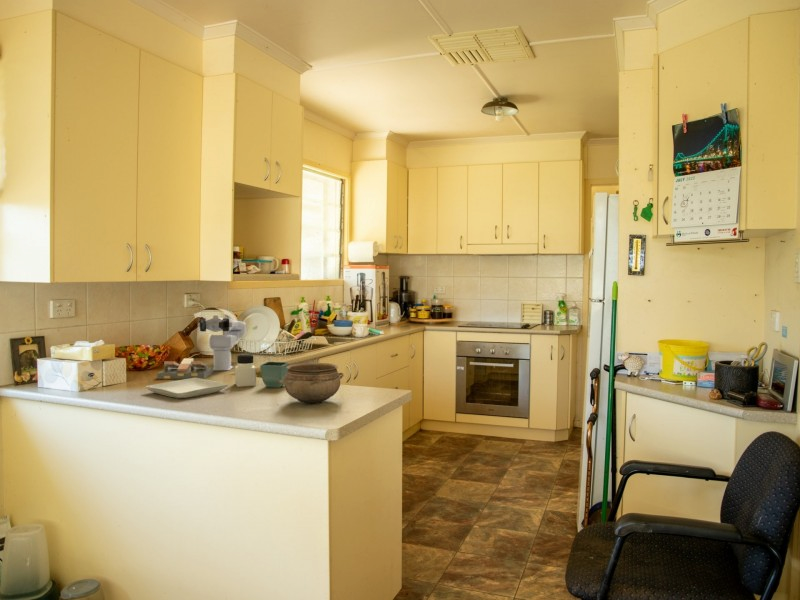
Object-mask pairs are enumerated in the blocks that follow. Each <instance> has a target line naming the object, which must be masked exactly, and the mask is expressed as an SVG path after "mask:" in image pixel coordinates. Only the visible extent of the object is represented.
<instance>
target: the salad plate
mask: <svg viewBox="0 0 800 600" xmlns="http://www.w3.org/2000/svg"><path fill="white" fill-rule="evenodd" d="M227 387H228V383H224V382H220V381H215V380H209V379H206V378H205V379H200V378H190V379H176V380H172V381H167V382H166V381H165V382H162V383H156V384H150V385H146V386H145V388H146V389H147V390H148V391H150V392H152V393H154V394H158V395H161V396H166V397H170V398H175V399H189V398H192V397H198V396H204V395H205V396H206V395H210V394H214V393H218V392H220V391H222V390H225V389H226V388H227Z"/></svg>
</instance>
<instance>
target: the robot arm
mask: <svg viewBox="0 0 800 600" xmlns="http://www.w3.org/2000/svg"><path fill="white" fill-rule="evenodd" d="M197 328H199V331H200V332H207V330H208V331H211V332H214V333H216V332H218V333H219V332H221V331H222V332H223V334H211V335H210V336H209V341H208V342H209V343H208V345H209V347H210V349H211V350H212V351H213V355H212V356H213V367H212V368H213V371H231V370H232V369H233V368H234V366H232V352H231V350H233V347H234V346H235V345H237V344H238V343H239V342H240V340H241V339H242V338H244V337H246V336H247V335H246V334H247V331H248V328H247V323H246V322H244V321H240V320H233V318H231V317H230V316H223V317H219V315H213V317H212V318H209V319H207V320H206V318H205V317H204V318H200V319H199V322H197Z"/></svg>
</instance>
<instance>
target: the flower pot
mask: <svg viewBox="0 0 800 600" xmlns="http://www.w3.org/2000/svg"><path fill="white" fill-rule="evenodd" d="M289 365H290V362H287V361H267V362H265V363H262V364H260V365H259V367H260V376H261V379H262V382H263V384H264V385H265V387H266V388H277V389H279V388H281V387H284V384H281V383H279V381H280V380H282V381H284V380H285V376H286V374H287V371H288V369H287V368H286V367H287V366H289Z"/></svg>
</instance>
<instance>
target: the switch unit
mask: <svg viewBox="0 0 800 600" xmlns="http://www.w3.org/2000/svg"><path fill="white" fill-rule="evenodd" d="M178 367H179V365H177V368H170V367H168V366H166V365H165V364H164V365H163V370H160V371H159V372H157V373H156V375H157V380H175V379H176V380H184V379H190V378H200V379H206V378H208V377H209V376H211V375H213V374H214V370H213V368H214V367H208V364H206V365H204V368H197V367H195V366H193V365H191V366H190V368H189V370H188V371H187V372H177V369H178Z"/></svg>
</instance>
